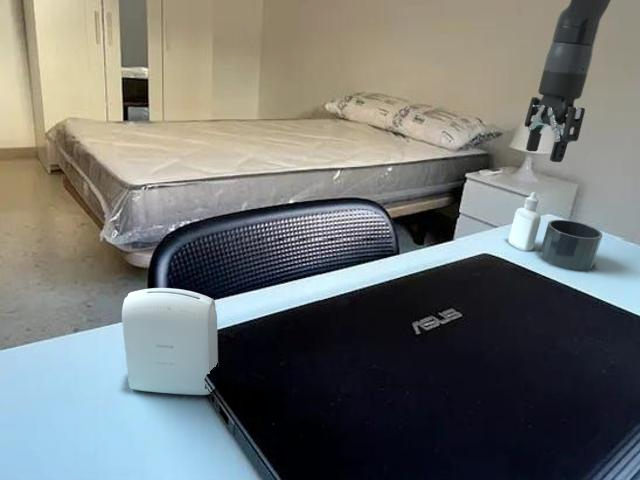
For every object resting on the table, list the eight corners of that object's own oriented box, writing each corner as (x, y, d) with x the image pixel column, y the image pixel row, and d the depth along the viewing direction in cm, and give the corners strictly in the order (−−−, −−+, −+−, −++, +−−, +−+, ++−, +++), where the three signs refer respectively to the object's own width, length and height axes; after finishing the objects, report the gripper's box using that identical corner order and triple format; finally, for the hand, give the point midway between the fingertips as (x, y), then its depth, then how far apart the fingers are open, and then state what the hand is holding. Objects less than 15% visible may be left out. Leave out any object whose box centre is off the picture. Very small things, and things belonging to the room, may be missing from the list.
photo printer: (122, 392, 56) (113, 297, 51) (136, 368, 60) (129, 277, 55) (213, 400, 56) (212, 305, 51) (221, 376, 60) (221, 285, 55)
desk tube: (571, 250, 106) (581, 220, 103) (602, 271, 97) (613, 239, 95) (529, 250, 104) (538, 219, 102) (557, 272, 96) (567, 238, 93)
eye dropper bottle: (511, 250, 104) (525, 195, 99) (507, 239, 109) (520, 187, 104) (533, 253, 103) (548, 198, 99) (527, 242, 108) (541, 189, 104)
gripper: (609, 75, 86) (582, 166, 93) (561, 68, 99) (540, 148, 106) (570, 72, 85) (546, 164, 92) (526, 65, 98) (507, 146, 104)
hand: (542, 156), depth 99 cm, fingers open, 8 cm apart
